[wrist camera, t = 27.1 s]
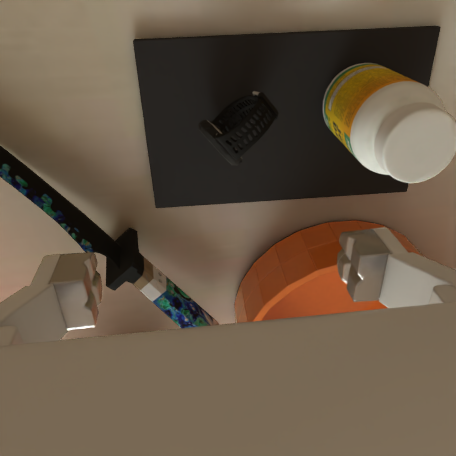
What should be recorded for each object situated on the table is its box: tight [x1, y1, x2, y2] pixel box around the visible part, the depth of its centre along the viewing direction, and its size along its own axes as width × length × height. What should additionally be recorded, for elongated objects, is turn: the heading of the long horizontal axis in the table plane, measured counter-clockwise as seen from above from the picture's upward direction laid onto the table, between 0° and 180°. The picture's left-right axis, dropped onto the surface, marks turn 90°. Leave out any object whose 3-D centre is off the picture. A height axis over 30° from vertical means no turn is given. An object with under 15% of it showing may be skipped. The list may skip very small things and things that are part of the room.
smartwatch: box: [198, 91, 279, 166], centre depth 28 cm, size 4×5×5 cm
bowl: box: [235, 220, 424, 323], centre depth 37 cm, size 18×18×6 cm
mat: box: [133, 26, 440, 208], centre depth 31 cm, size 20×12×1 cm, turn 92°
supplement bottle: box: [323, 63, 456, 183], centre depth 26 cm, size 5×5×10 cm
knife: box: [0, 146, 219, 328], centre depth 32 cm, size 31×3×4 cm, turn 39°
